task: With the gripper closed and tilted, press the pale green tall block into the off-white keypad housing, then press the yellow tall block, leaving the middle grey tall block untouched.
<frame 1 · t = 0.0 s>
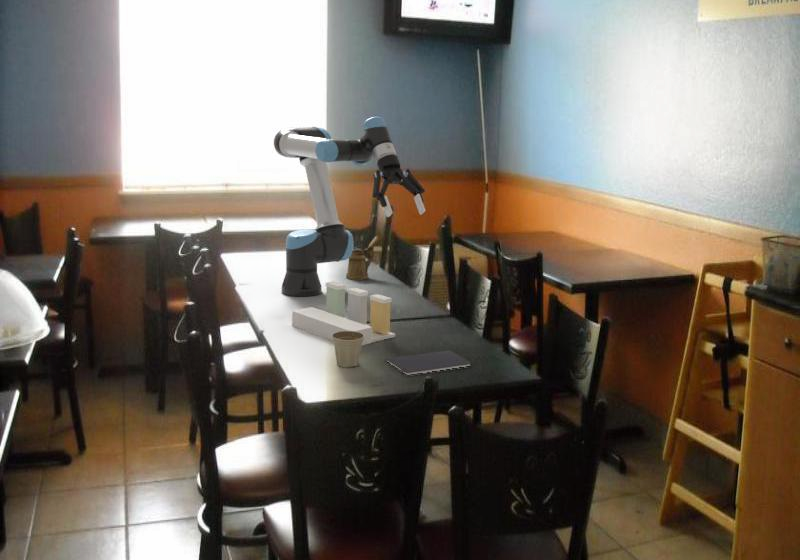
hand: (406, 213, 274), 36 cm above the table, tool tilted 35°, fingers open, 13 cm apart
flower pot: (347, 365, 233), on the table
keypad base: (340, 331, 263), on the table
notebook: (428, 366, 235), on the table
yellow tall block: (380, 314, 259), point 7 cm above the table, slide at 0.0 cm
grey tall block: (357, 306, 266), point 7 cm above the table, slide at 0.0 cm
wooden mug: (362, 278, 339), on the table
pale green tall block: (335, 300, 274), point 7 cm above the table, slide at 0.0 cm
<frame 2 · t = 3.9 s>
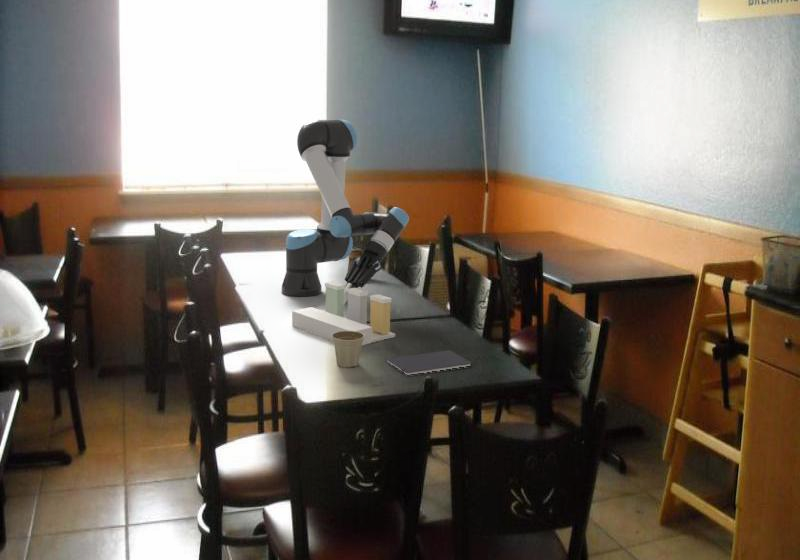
hand: (341, 300, 276), 7 cm above the table, tool tilted 45°, fingers closed
pale green tall block: (334, 300, 274), point 7 cm above the table, slide at 0.3 cm, touching gripper
everything else where it was.
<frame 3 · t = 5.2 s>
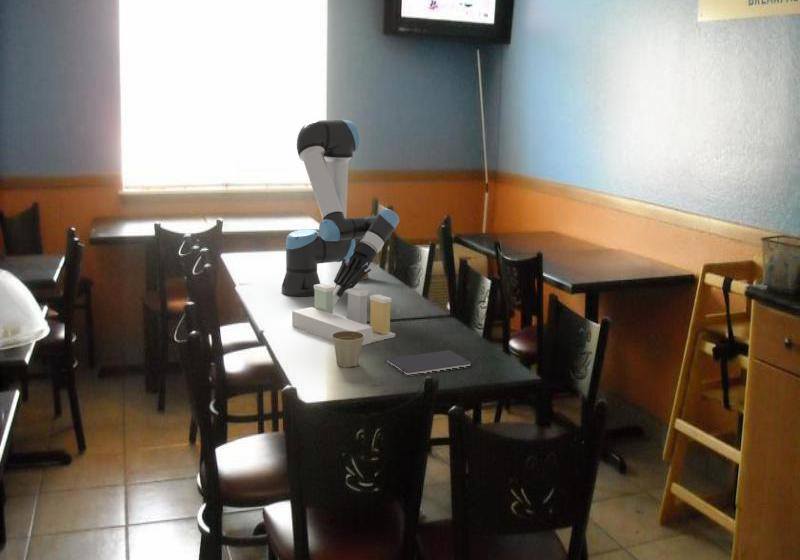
hand: (330, 302, 272), 7 cm above the table, tool tilted 45°, fingers closed
pale green tall block: (323, 302, 270), point 7 cm above the table, slide at 5.1 cm, touching gripper
everything else where it was.
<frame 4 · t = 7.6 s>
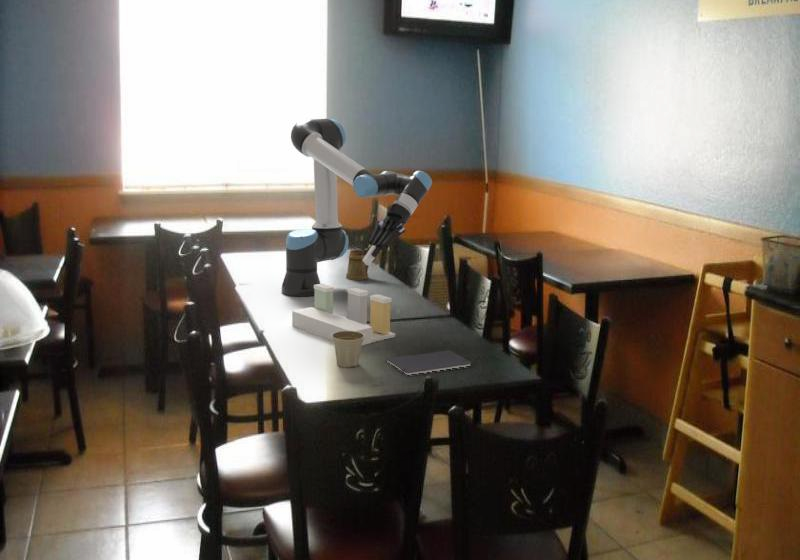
hand: (365, 263, 274), 19 cm above the table, tool tilted 45°, fingers closed
pale green tall block: (323, 302, 270), point 7 cm above the table, slide at 5.1 cm
everything else where it was.
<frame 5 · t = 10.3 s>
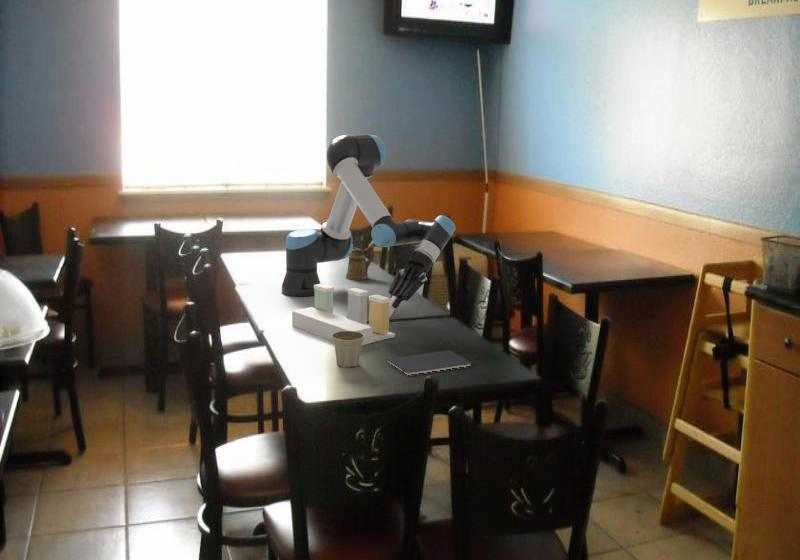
hand: (385, 314, 260), 7 cm above the table, tool tilted 45°, fingers closed
yellow tall block: (379, 314, 258), point 7 cm above the table, slide at 0.4 cm, touching gripper
everything else where it was.
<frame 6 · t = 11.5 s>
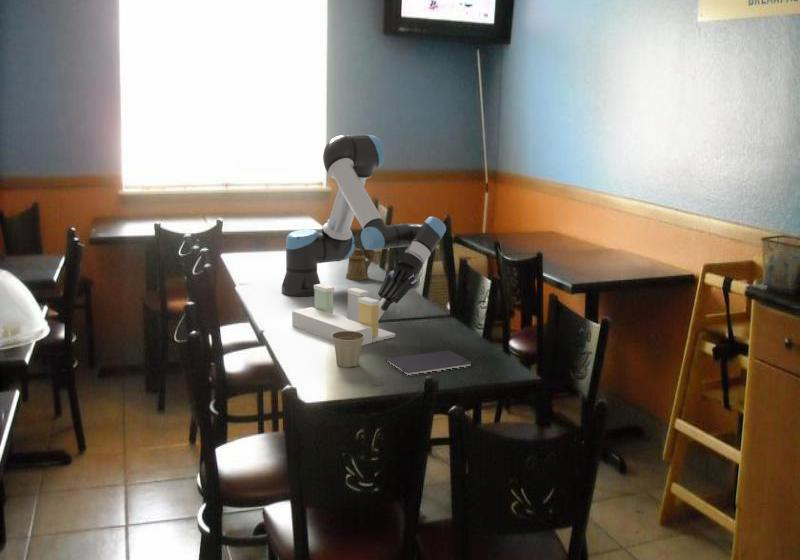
hand: (375, 317, 257), 7 cm above the table, tool tilted 45°, fingers closed
yellow tall block: (368, 316, 255), point 7 cm above the table, slide at 5.0 cm, touching gripper
everything else where it was.
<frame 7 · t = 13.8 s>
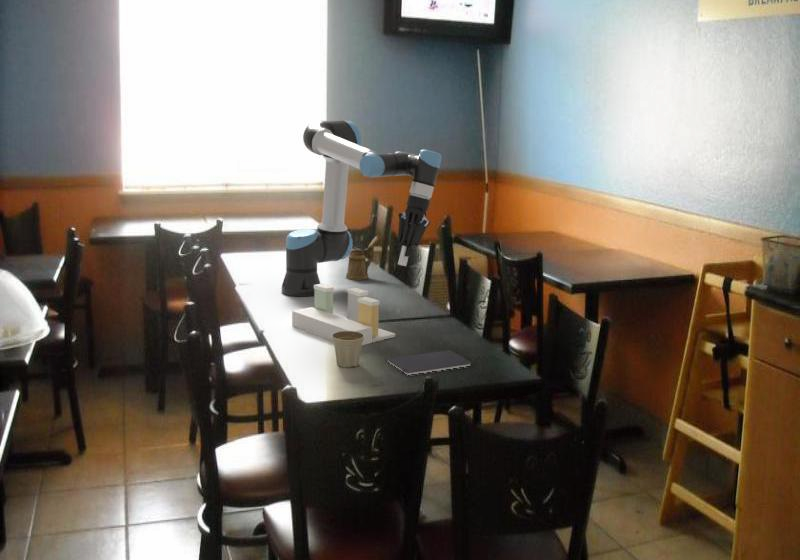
hand: (401, 265, 274), 19 cm above the table, tool pointing down, fingers closed
yellow tall block: (368, 316, 255), point 7 cm above the table, slide at 5.0 cm
everything else where it was.
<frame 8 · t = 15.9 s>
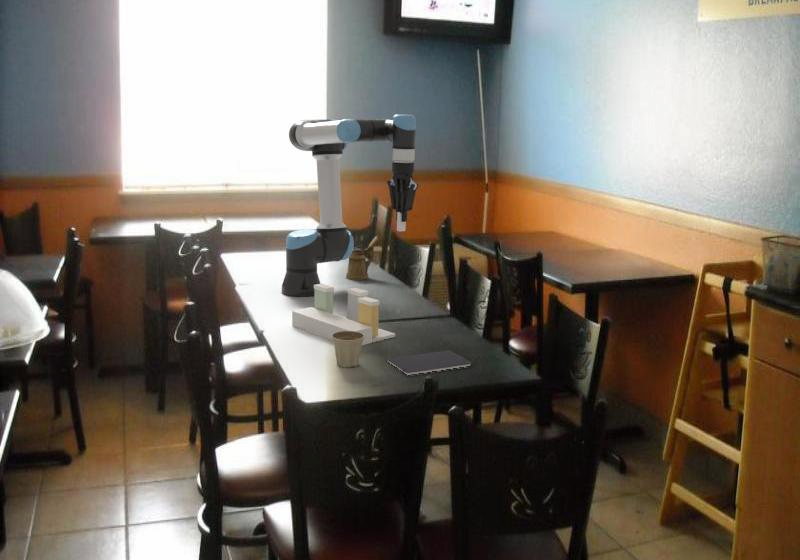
hand: (401, 230, 280), 29 cm above the table, tool pointing down, fingers closed
nothing on the table moved.
at the end: pale green tall block slide at 5.1 cm; yellow tall block slide at 5.0 cm; grey tall block slide at 0.0 cm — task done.
